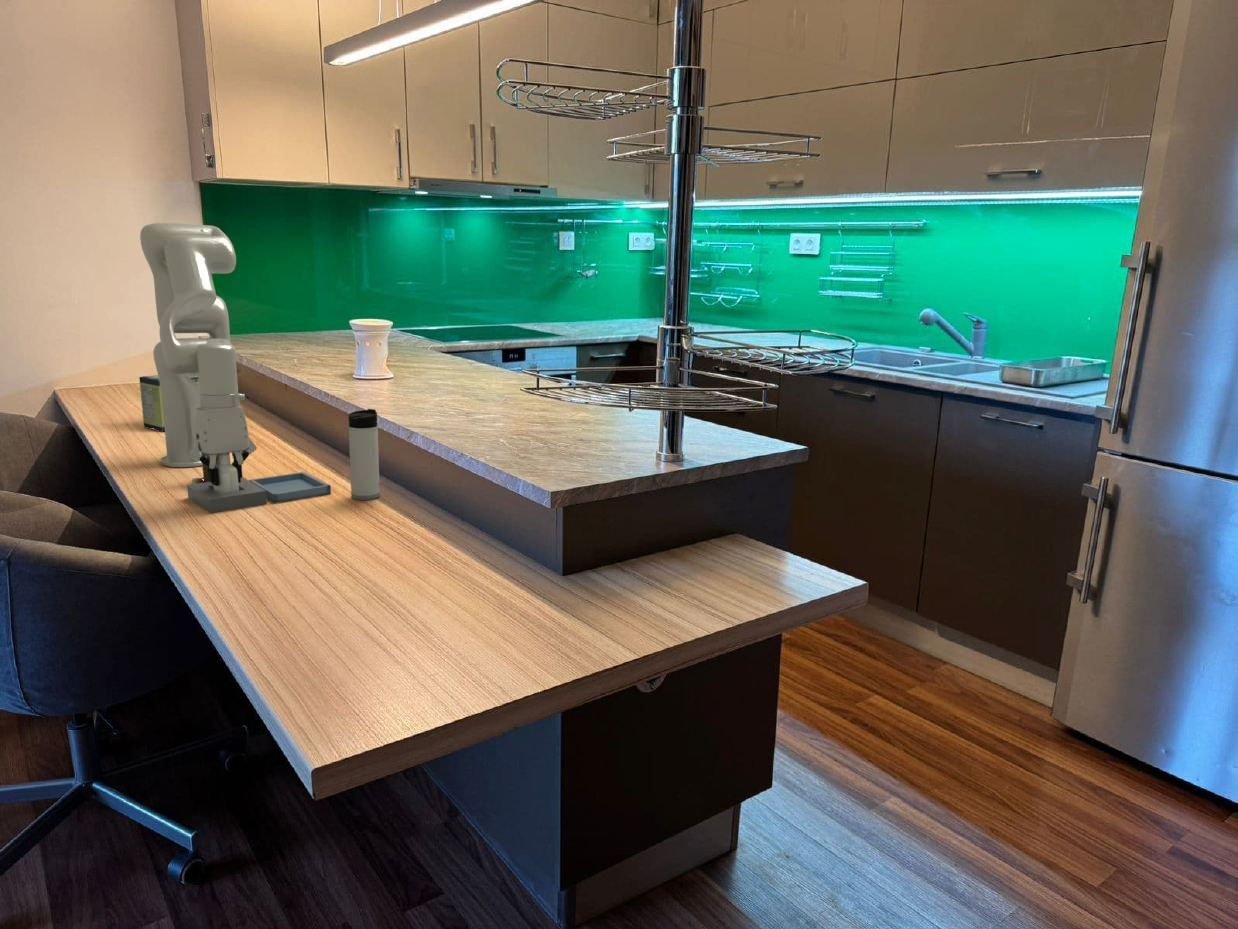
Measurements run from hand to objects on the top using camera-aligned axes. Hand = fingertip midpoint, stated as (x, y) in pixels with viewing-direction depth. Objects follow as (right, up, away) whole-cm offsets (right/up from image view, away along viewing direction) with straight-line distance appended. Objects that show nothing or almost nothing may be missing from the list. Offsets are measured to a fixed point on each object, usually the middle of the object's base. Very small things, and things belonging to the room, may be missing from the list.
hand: (226, 482), depth 186 cm
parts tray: (+10, -2, +10) cm, 15 cm away
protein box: (-48, +15, +72) cm, 89 cm away
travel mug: (+28, -4, +9) cm, 30 cm away
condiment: (-10, 0, +16) cm, 19 cm away
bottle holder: (0, -4, +1) cm, 4 cm away
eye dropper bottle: (0, -4, +1) cm, 4 cm away
